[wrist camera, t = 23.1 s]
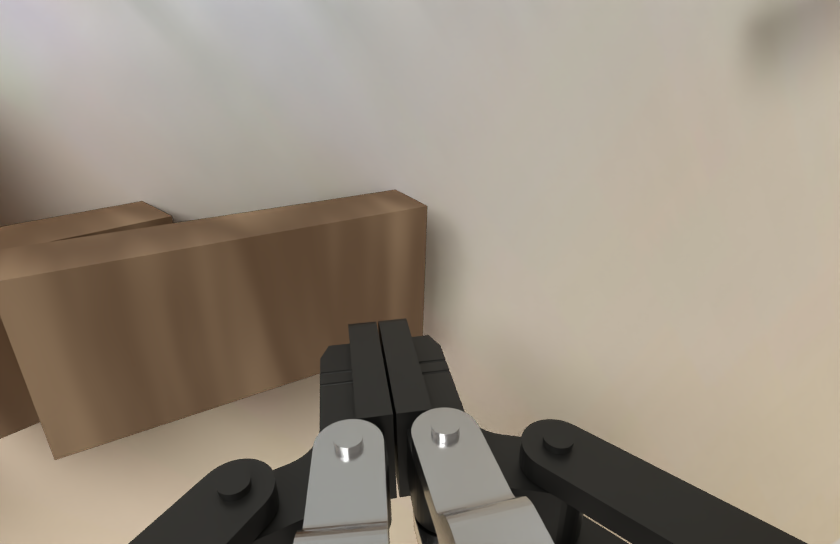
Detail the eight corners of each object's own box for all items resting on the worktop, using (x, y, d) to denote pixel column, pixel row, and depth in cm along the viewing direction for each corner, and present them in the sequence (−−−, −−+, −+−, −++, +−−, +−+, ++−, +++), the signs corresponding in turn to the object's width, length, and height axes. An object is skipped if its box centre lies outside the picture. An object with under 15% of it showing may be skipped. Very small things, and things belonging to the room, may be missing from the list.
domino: (426, 206, 16) (-13, 282, 11) (422, 339, 18) (54, 459, 13) (395, 189, 18) (-4, 249, 12) (394, 314, 20) (55, 413, 14)
